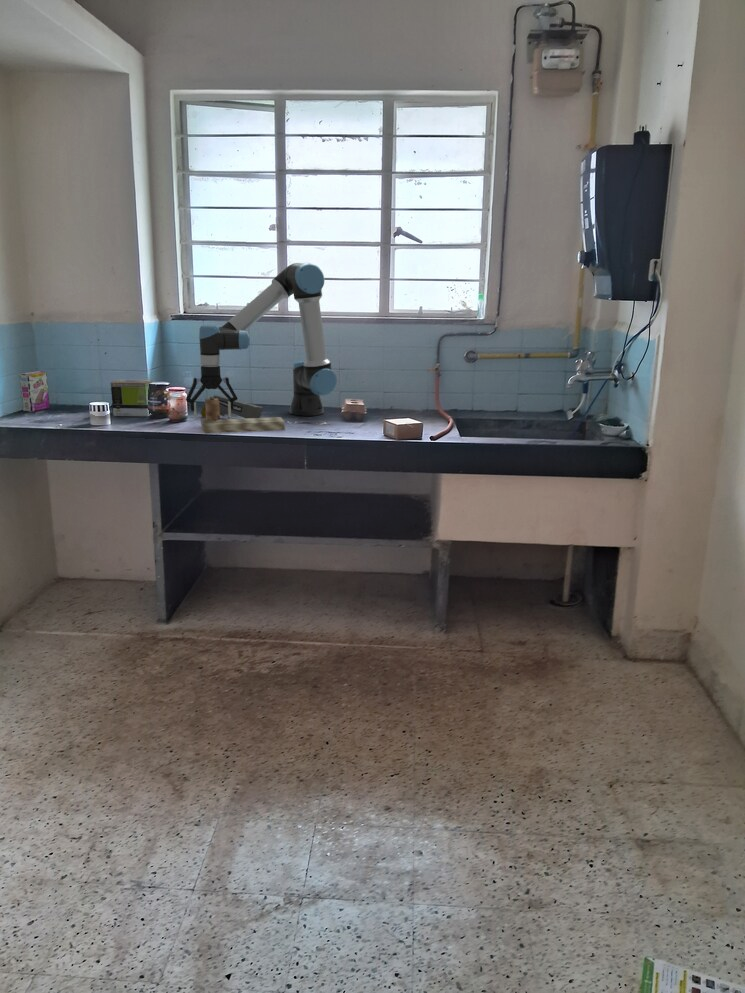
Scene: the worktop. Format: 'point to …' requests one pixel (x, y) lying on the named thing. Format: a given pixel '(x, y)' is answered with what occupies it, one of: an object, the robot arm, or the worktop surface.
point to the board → (242, 425)
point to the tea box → (130, 397)
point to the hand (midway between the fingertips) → (212, 418)
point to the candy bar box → (34, 391)
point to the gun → (236, 408)
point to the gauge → (212, 409)
